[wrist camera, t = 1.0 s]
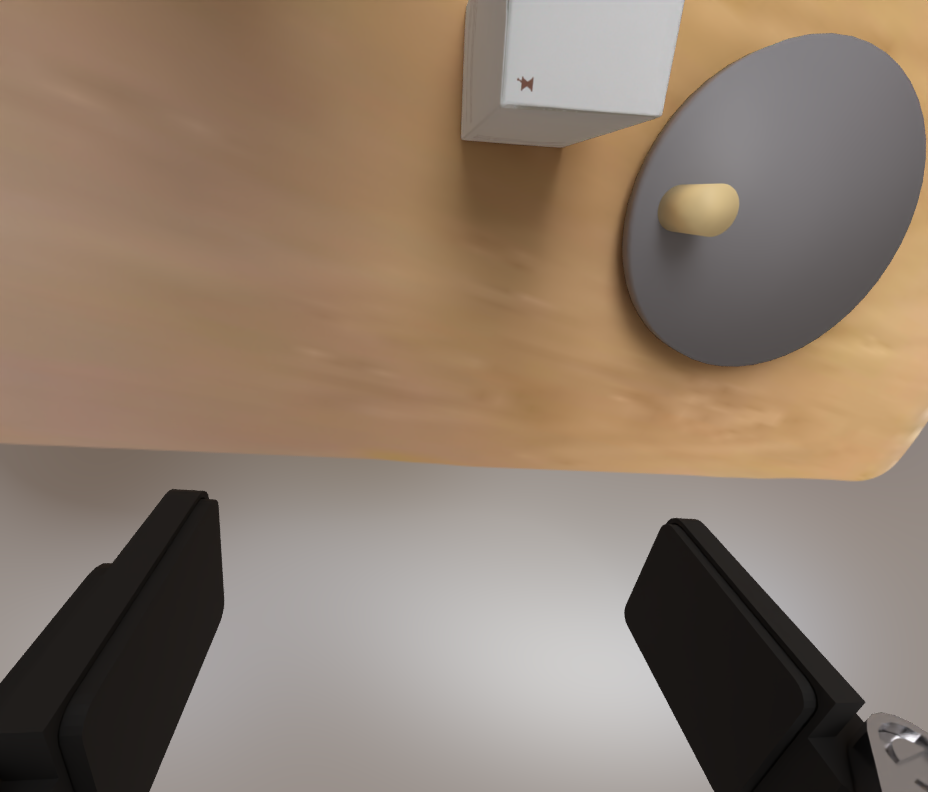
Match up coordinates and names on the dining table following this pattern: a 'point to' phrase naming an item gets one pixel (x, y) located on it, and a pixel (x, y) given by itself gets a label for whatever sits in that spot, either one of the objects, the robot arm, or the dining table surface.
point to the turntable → (774, 199)
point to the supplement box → (564, 68)
